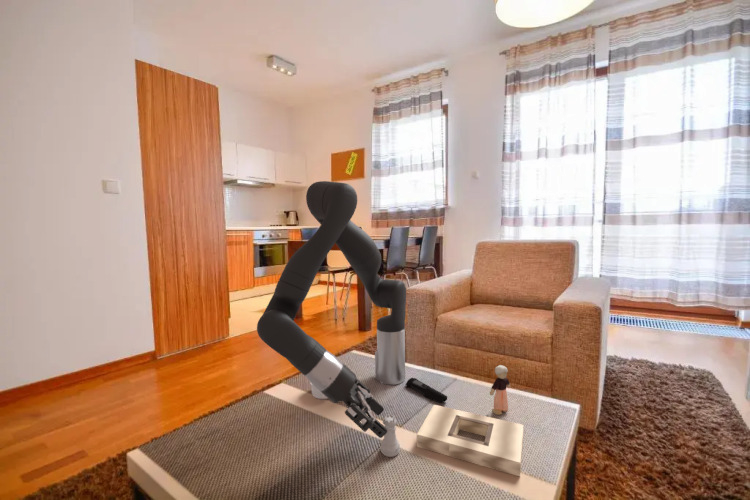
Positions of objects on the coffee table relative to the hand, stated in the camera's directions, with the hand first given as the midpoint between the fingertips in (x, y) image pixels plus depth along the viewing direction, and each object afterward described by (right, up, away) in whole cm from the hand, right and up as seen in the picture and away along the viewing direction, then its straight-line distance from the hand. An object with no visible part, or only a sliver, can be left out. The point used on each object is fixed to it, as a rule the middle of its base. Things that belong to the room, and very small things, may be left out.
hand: (382, 422), depth 76 cm
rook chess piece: (+2, -7, +1) cm, 7 cm away
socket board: (+21, -6, +3) cm, 22 cm away
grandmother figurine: (+33, -5, +16) cm, 37 cm away
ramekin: (-17, -5, +28) cm, 33 cm away
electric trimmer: (+14, -5, +26) cm, 30 cm away
